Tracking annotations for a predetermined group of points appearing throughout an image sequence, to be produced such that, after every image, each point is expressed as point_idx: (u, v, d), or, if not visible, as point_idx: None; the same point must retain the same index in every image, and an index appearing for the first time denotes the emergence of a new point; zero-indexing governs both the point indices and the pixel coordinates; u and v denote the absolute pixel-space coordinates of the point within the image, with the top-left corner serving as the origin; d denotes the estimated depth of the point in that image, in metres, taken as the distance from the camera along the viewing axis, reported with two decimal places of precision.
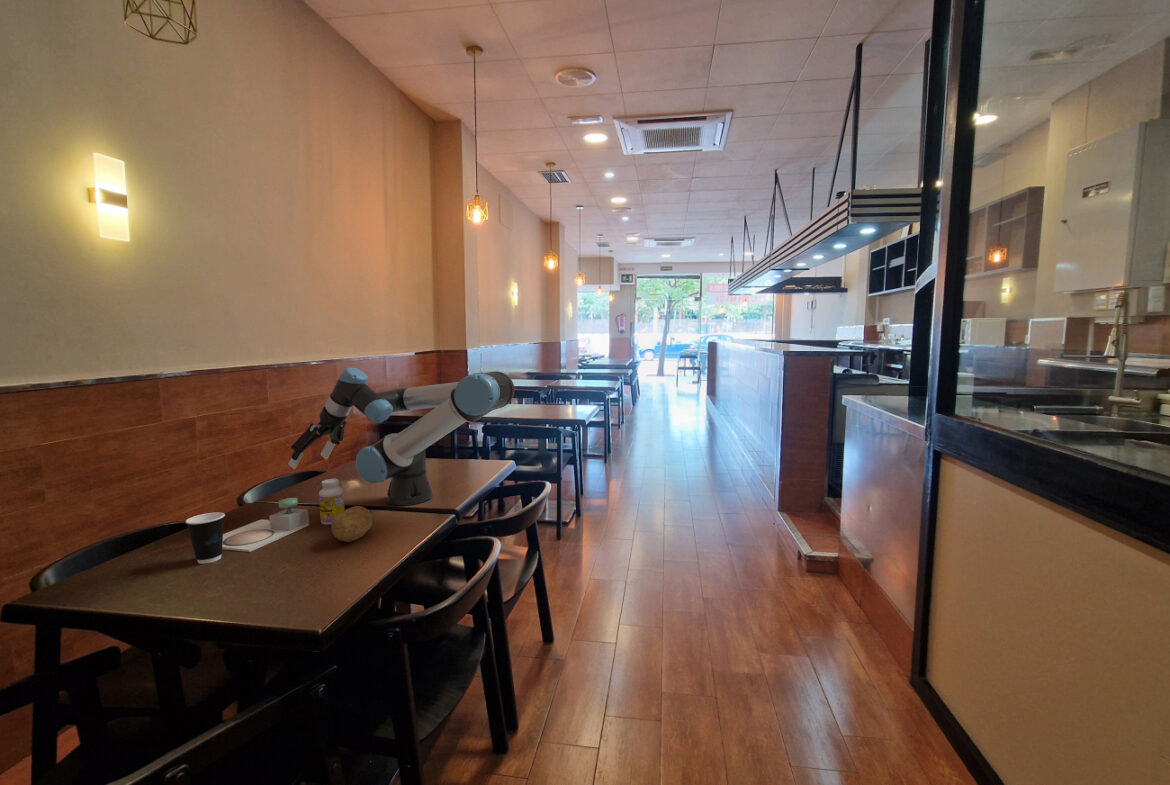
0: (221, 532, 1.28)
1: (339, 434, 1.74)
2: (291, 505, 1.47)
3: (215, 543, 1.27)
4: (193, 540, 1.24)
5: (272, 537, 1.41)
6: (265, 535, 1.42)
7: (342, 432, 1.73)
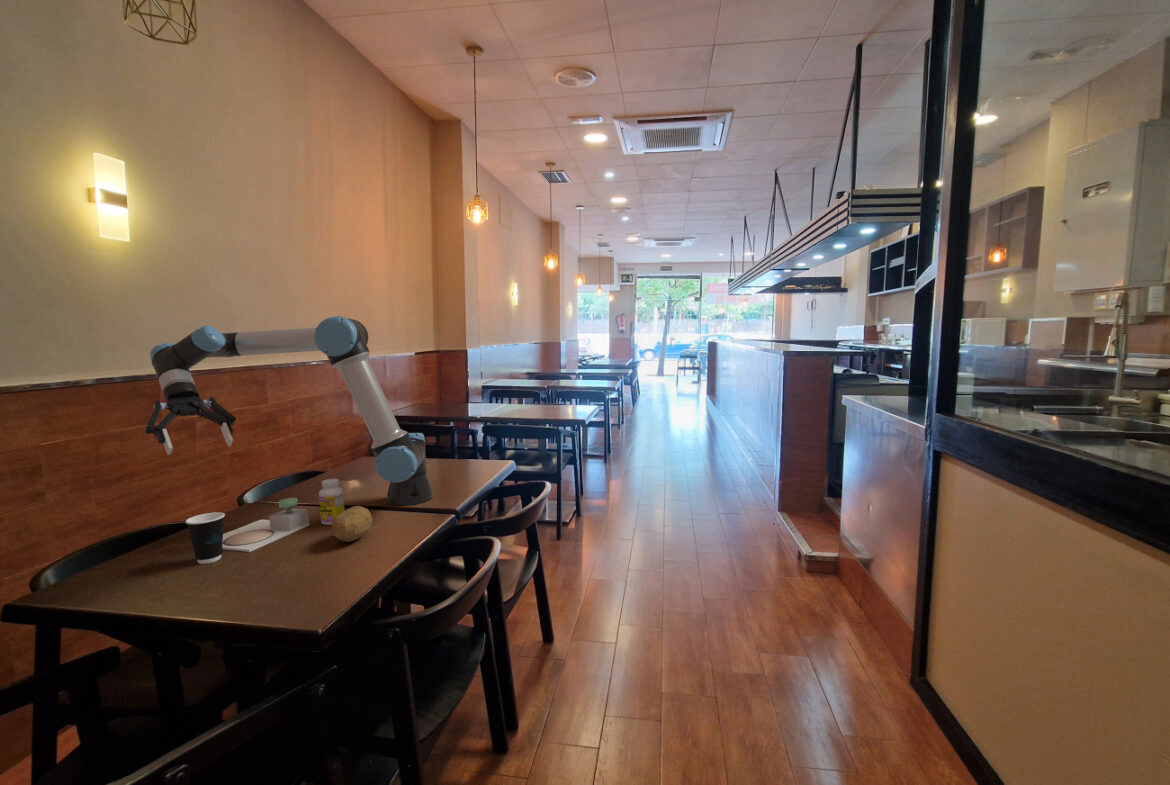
0: (221, 532, 1.28)
1: (223, 414, 1.46)
2: (291, 505, 1.47)
3: (215, 543, 1.27)
4: (193, 540, 1.24)
5: (272, 537, 1.41)
6: (265, 535, 1.42)
7: (221, 409, 1.47)
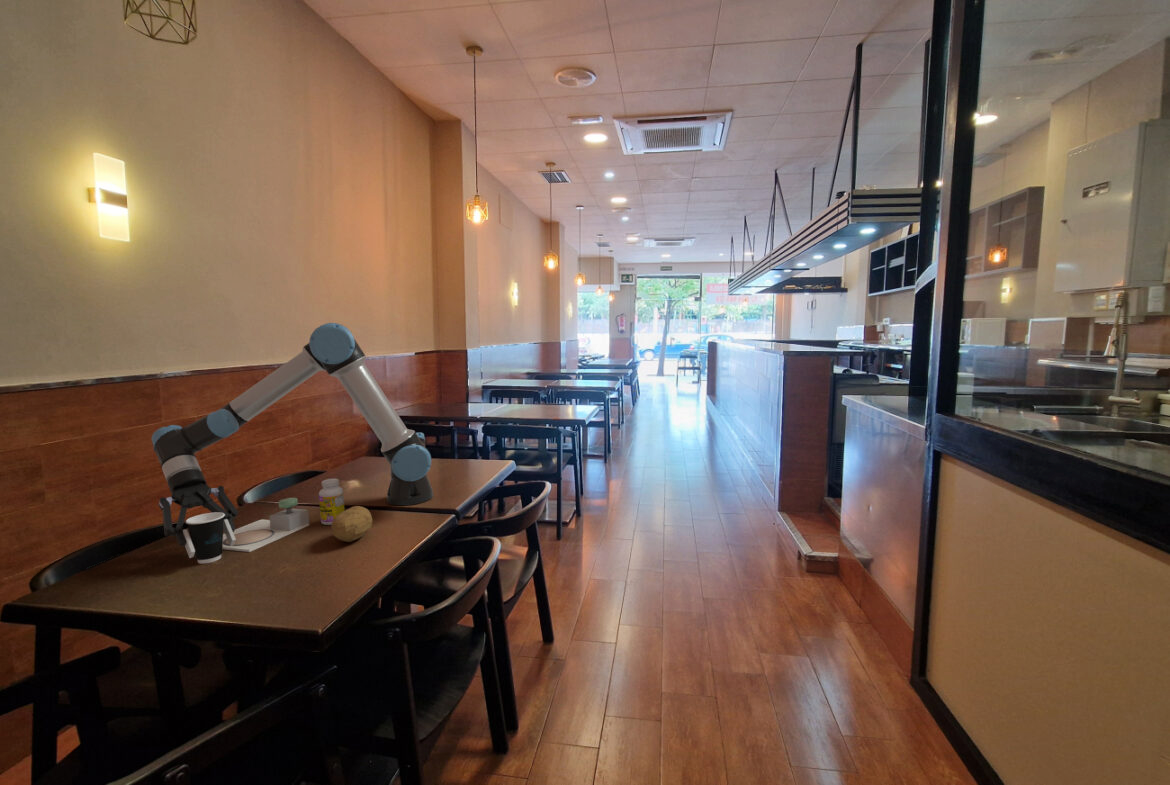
0: (221, 532, 1.28)
1: (227, 506, 1.34)
2: (291, 505, 1.47)
3: (215, 543, 1.27)
4: (193, 540, 1.24)
5: (272, 537, 1.41)
6: (265, 535, 1.42)
7: (226, 500, 1.34)
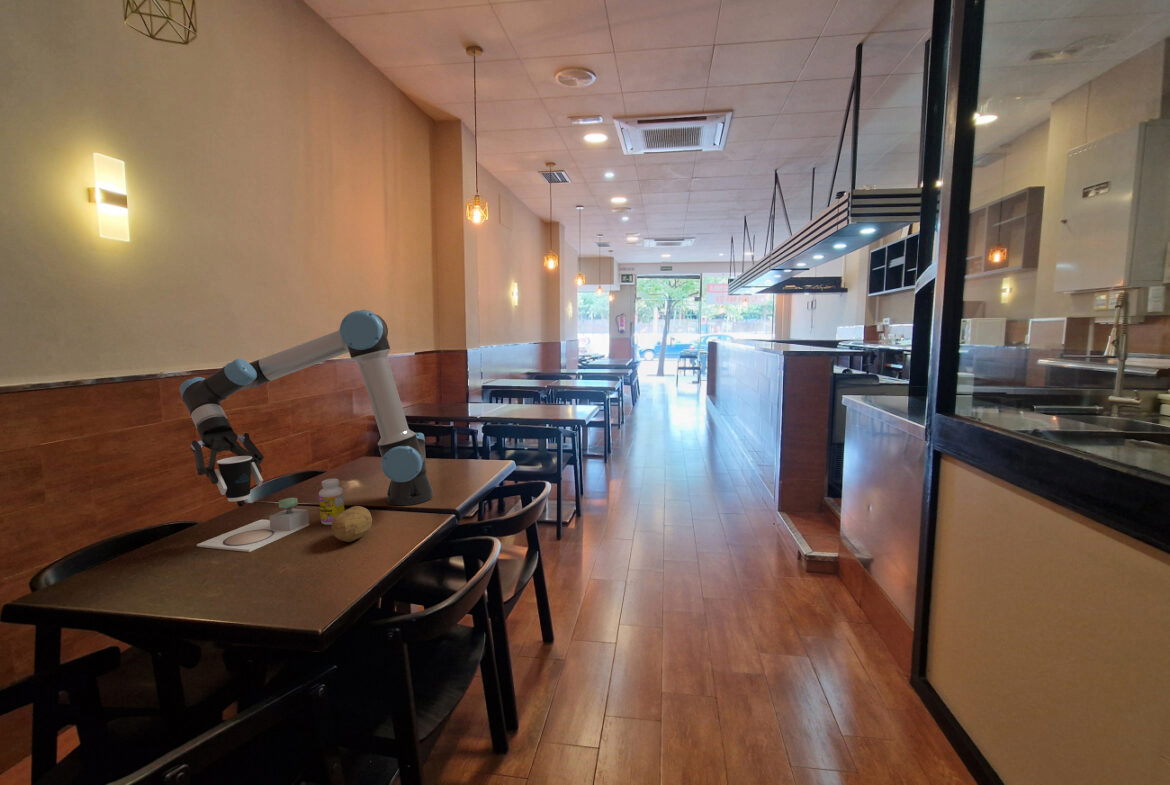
0: (249, 473, 1.37)
1: (252, 451, 1.43)
2: (291, 505, 1.47)
3: (244, 482, 1.36)
4: (224, 479, 1.34)
5: (272, 537, 1.41)
6: (265, 535, 1.42)
7: (252, 446, 1.43)
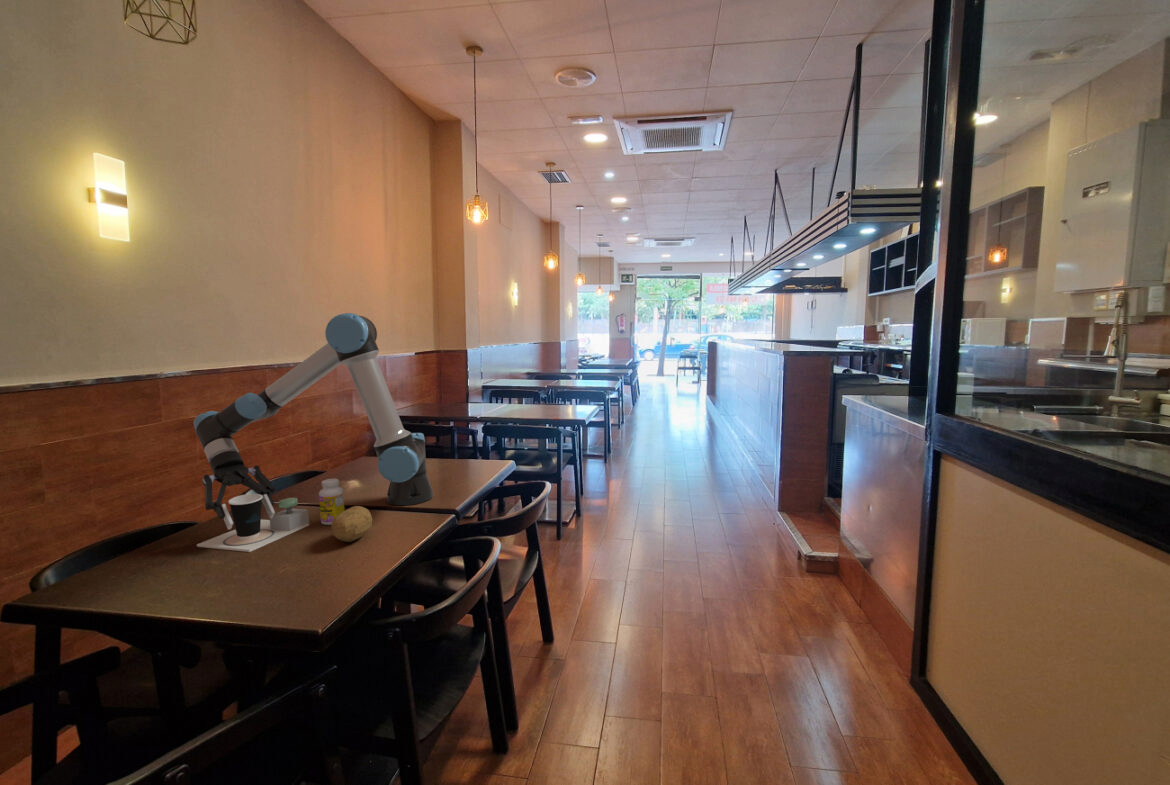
0: (259, 512, 1.41)
1: (264, 483, 1.47)
2: (291, 505, 1.47)
3: (255, 522, 1.39)
4: (235, 519, 1.37)
5: (272, 537, 1.41)
6: (265, 535, 1.42)
7: (264, 478, 1.48)
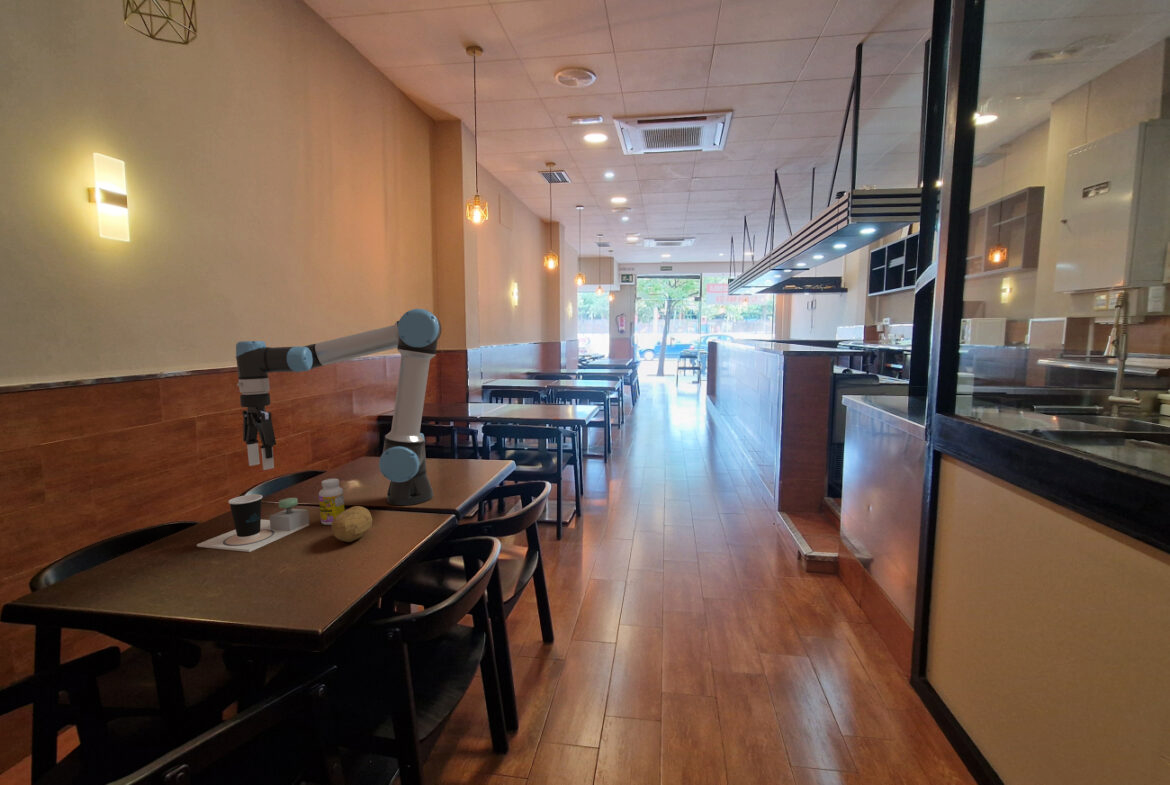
0: (259, 512, 1.41)
1: None
2: (291, 505, 1.47)
3: (255, 521, 1.40)
4: (235, 519, 1.37)
5: (272, 537, 1.41)
6: (265, 535, 1.42)
7: None
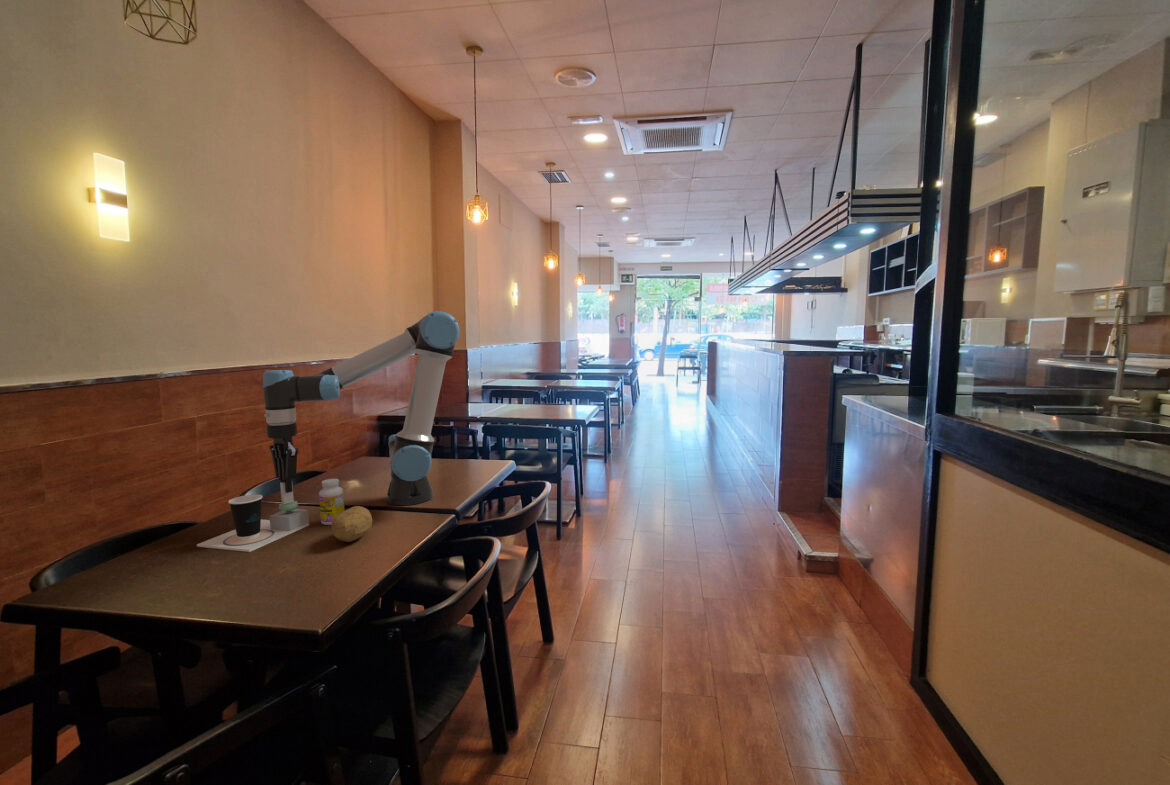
0: (259, 512, 1.41)
1: None
2: (291, 508, 1.47)
3: (255, 521, 1.40)
4: (235, 519, 1.37)
5: (272, 537, 1.41)
6: (265, 535, 1.42)
7: None
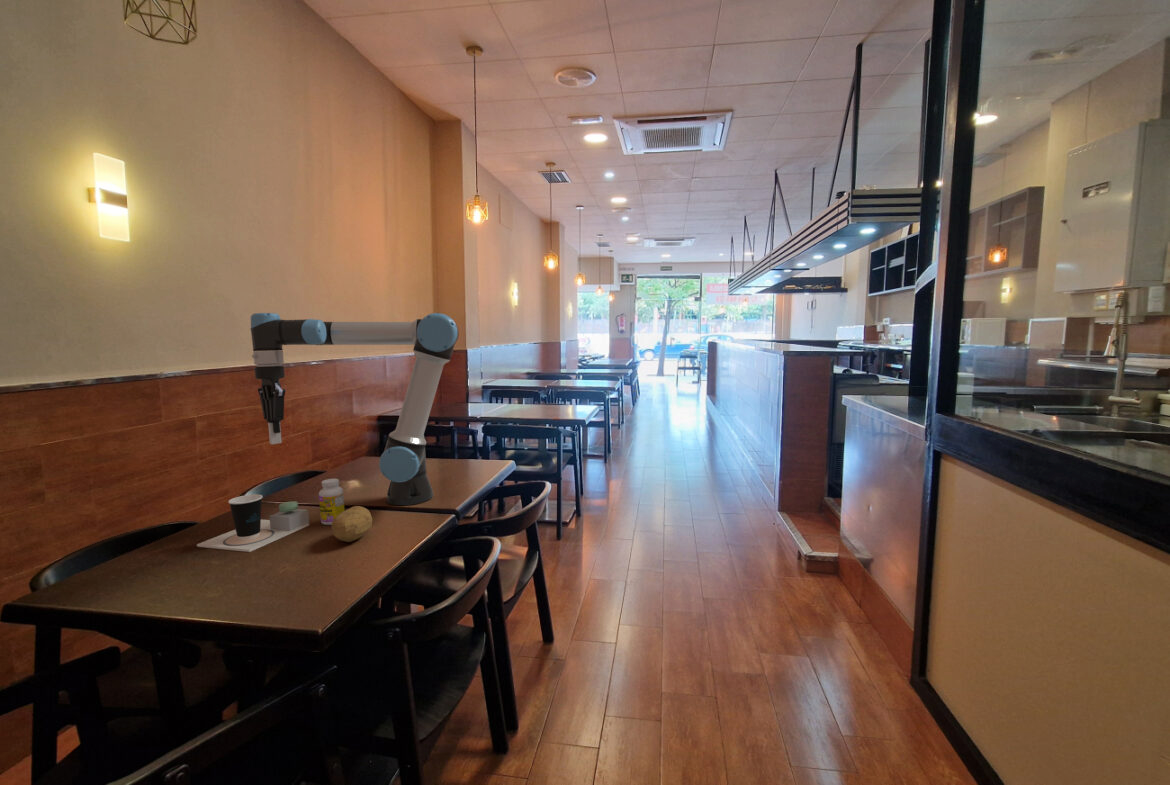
0: (259, 512, 1.41)
1: None
2: (291, 509, 1.48)
3: (255, 521, 1.40)
4: (235, 518, 1.37)
5: (272, 537, 1.41)
6: (265, 535, 1.42)
7: None
